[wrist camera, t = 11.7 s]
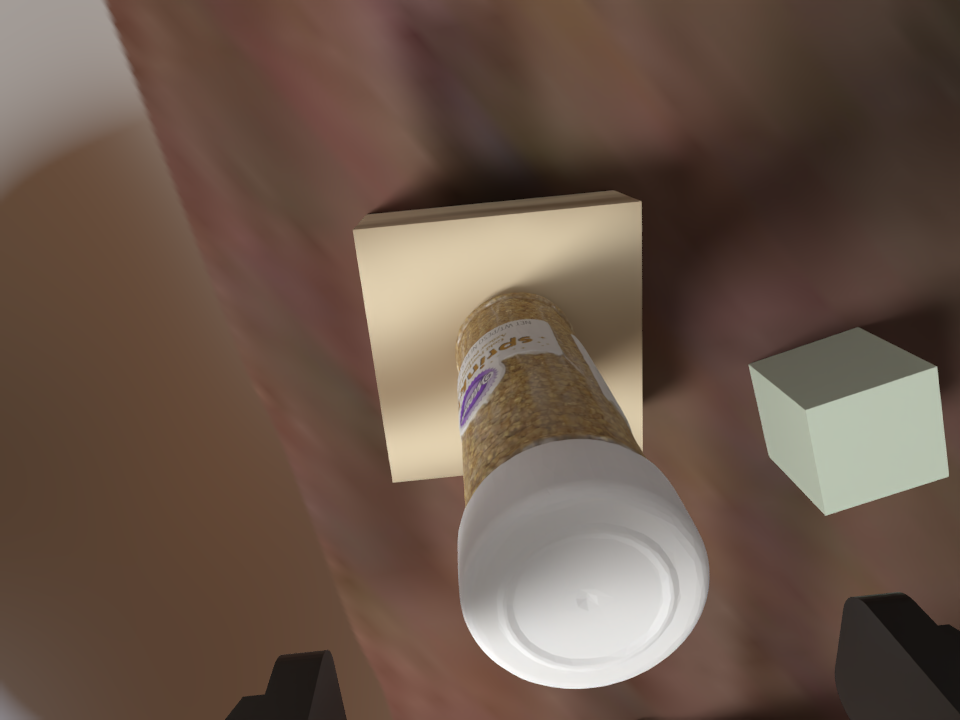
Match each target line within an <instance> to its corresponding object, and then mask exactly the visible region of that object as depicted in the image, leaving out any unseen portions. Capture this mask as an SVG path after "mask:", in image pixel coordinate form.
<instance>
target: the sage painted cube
mask: <svg viewBox="0 0 960 720" xmlns="http://www.w3.org/2000/svg"><path fill="white" fill-rule="evenodd" d="M749 369H750V373H751V378H752V382H753V387H754V391H755V396H756V400H757V405H758V409H759V414H760V418H761V423H762V427H763V432H764V436H765V441H766V445H767V450H768V454H769V457H770V458H771V459H772V460H773V461H774V462H775V463H776V464H777V465H778V466H779V467H780V468H781V469H782V471H783V472H784V473H785V474H786V475H787V476H788V477H789V478H790V479H791V480H792V481H793V482H794V483H795V484H796V485H797V486H798V487H799V488H800V489H801V490H802V491H803V492H804V493H805V495H806V496H807V497H808V498H809V499H810V500H811V501H812V502H813V503H814V504H815V505H816V506H817V507H818V508H819V509H820V510H821V511H822V512H823V513H824V514H825V515H829V514H832V513H835V512H838V511H842V510H845V509H848V508H851V507H854V506H857V505H860V504H864V503H867V502H870V501H873V500H876V499H879V498H883V497H886V496H889V495H892V494H895V493H898V492H901V491H905V490H908V489H911V488H914V487H917V486H920V485H924V484H927V483H930V482H933V481H936V480H939V479H942V478H946V477H949V472H948V463H947V454H946V444H945V435H944V426H943V416H942V407H941V398H940V388H939V379H938V370H937V366H935V365H933V364H931V363H929V362H927V361H925V360H923V359H921V358H919V357H917V356H915V355H913V354H911V353H909V352H907V351H905V350H903V349H901V348H899V347H897V346H895V345H893V344H891V343H889V342H887V341H885V340H883V339H881V338H879V337H877V336H875V335H873V334H871V333H869V332H867V331H865V330H863V329H861V328H859V327H857V328H854V329H851V330H848V331H845V332H842V333H839V334H836V335H833V336H830V337H827V338H824V339H821V340H818V341H816V342H813V343H810V344H807V345H804V346H801V347H798V348H795V349H792V350H789V351H786V352H783V353H780V354H777V355H774V356H771V357H768V358H765V359H762V360H759V361H757V362H754V363H751V364H749Z"/></svg>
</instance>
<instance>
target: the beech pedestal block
mask: <svg viewBox="0 0 960 720" xmlns="http://www.w3.org/2000/svg"><path fill="white" fill-rule="evenodd" d="M353 234H354V241H355V247H356V253H357V260H358V266H359V272H360V278H361V285H362V291H363V297H364V304H365V310H366V316H367V323H368V329H369V335H370V341H371V348H372V354H373V360H374V367H375V373H376V379H377V386H378V392H379V398H380V405H381V411H382V417H383V423H384V430H385V436H386V442H387V449H388V455H389V461H390V468H391V474H392V480H393V482H403V481H412V480H422V479H432V478H442V477H451V476H461V475H464V474H463V460H462V442H461V437H460V431H459V415H458V391H457V385H458V376H459V373H458V370H457V366H456V359H455V346H456V340H457V336H458V333H459V329H460V327H461V325H462V324H463V323H464V321H465V319H466V318H467V317H468V316H469V315H470V314H471V313H472V312H473V310H474V309H477V308H478V307H479V306H480V305H481V304H482V303H484V302H485V301H487V300H489V299H491V298H493V297H496V296H499V295H502V294H508V293H520V292H523V293H531V294H535V295H539V296H542V297H544V298H546V299H548V300H549V301H551V302H552V303H553V304H555V305H556V306H557V307H558V308H559V309H561V310H562V311H563V312H564V314H565V315H566V317H567V319H568V320H569V322H570V323H571V325H572V327H573V329H574V332H575V335H576V338H577V339H578V340H579V341H580V342H581V344H582V345H583V346H584V348H585V349H586V351H587V353H588V354H589V356H590V358H591V359H592V361H593V363H594V364H595V366H596V368H597V369H598V371H599V372H600V374H601V376H602V377H603V379H604V381H605V382H606V384H607V386H608V387H609V389H610V391H611V392H612V394H613V396H614V397H615V399H616V401H617V403H618V404H619V406H620V408H621V409H622V411H623V413H624V415H625V417H626V418H627V420H628V423H629V425H630V428H631V430H632V434H633V436H634V438H635V440H636V442H637V444H638V445H639V447H640V448H641V450H642V452H643V436H642V201H640V200H637V199H635V198H632V197H630V196H627V195H625V194H622V193H620V192H617V191H615V190H611V191H601V192H590V193H580V194H570V195H560V196H550V197H540V198H529V199H519V200H509V201H499V202H489V203H479V204H469V205H458V206H448V207H438V208H428V209H418V210H408V211H398V212H387V213H377V214H367V215H366V216H365V217H364V218H363V219H362V220H361V221H360V223H359V224H358V225H357V226H356V227H355V228H354V229H353Z"/></svg>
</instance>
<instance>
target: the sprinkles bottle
mask: <svg viewBox="0 0 960 720" xmlns="http://www.w3.org/2000/svg"><path fill="white" fill-rule="evenodd" d="M455 359H456V366H457V370H458V373H459V376H458V385H457V391H458V415H459V431H460V437H461V442H462V460H463V474H464V478H463V479H464V493H465V494H464V497H465V510H464V513H463V517H462V520H461V524H460V528H459V533H458V578H459V592H460V602H461V607H462V612H463V616H464V619H465V622H466V624H467V626H468V628H469V630H470V632H471V634H472V636H473V638H474V639H475V641H476V642H477V643H478V645H479V646H480V647H481V649H482V650H483V651H484V652H485V653H486V654H487V655H488V656H489V657H490V658H491V659H492V660H493V661H494V662H496V663H497V664H498V665H500V666H501V667H503V668H504V669H506V670H507V671H509V672H511V673H512V674H514V675H516V676H518V677H520V678H522V679H525V680H527V681H530V682H533V683H537V684H541V685H546V686H551V687H557V688H571V689H582V688H593V687H601V686H607V685H610V684H614V683H618V682H621V681H624V680H627V679H630V678H632V677H635V676H637V675H639V674H641V673H643V672H645V671H647V670H649V669H650V668H652V667H653V666H655V665H656V664H658V663H660V662H661V661H662V660H664V659H665V658H667V657H668V656H669V655H670V654H671V653H673V652H674V651H675V650H676V649H677V648H678V647H679V646H680V645H681V644H682V643H683V642H684V640H685V639H686V638H687V637H688V635H689V634H690V633H691V632H692V630H693V628H694V626H695V625H696V623H697V621H698V619H699V617H700V616H701V614H702V611H703V608H704V605H705V603H706V599H707V594H708V590H709V563H708V557H707V552H706V549H705V546H704V543H703V540H702V538H701V536H700V534H699V532H698V530H697V528H696V526H695V524H694V523H693V521H692V519H691V517H690V515H689V513H688V512H687V510H686V508H685V506H684V505H683V503H682V501H681V500H680V498H679V496H678V494H677V493H676V491H675V489H674V488H673V486H672V485H671V483H670V482H669V480H668V479H667V478H666V477H665V475H664V474H663V473H662V472H661V471H660V470H659V469H658V468H657V467H656V466H655V465H654V464H653V463H652V462H650V461H649V460H647V459H646V457H645V456H644V454H643V452H642V450H641V448H640V447H639V445H638V444H637V442H636V440H635V438H634V436H633V434H632V430H631V428H630V425H629V423H628V420H627V418H626V417H625V415H624V413H623V411H622V409H621V408H620V406H619V404H618V403H617V401H616V399H615V397H614V396H613V394H612V392H611V391H610V389H609V387H608V386H607V384H606V382H605V381H604V379H603V377H602V376H601V374H600V372H599V371H598V369H597V368H596V366H595V364H594V363H593V361H592V359H591V358H590V356H589V354H588V353H587V351H586V349H585V348H584V346H583V345H582V344H581V342H580V341H579V340H578V339H577V338H576V335H575V332H574V329H573V327H572V325H571V323H570V322H569V320H568V319H567V317H566V315H565V314H564V312H563V311H562V310H561V309H559V308H558V307H557V306H556V305H555V304H553V303H552V302H551V301H549V300H548V299H546V298H544V297H542V296H539V295H535V294H531V293H523V292H520V293H508V294H502V295H499V296H496V297H493V298H491V299H489V300H487V301H485V302H484V303H482V304H481V305H480V306H479V307H478V308H477V309H474V310H473V312H472V313H471V314H470V315H469V316H468V317H467V318H466V319H465V321H464V323H463V324H462V325H461V327H460V329H459V333H458V336H457V340H456V346H455Z"/></svg>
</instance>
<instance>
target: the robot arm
mask: <svg viewBox="0 0 960 720" xmlns="http://www.w3.org/2000/svg"><path fill="white" fill-rule="evenodd" d="M835 681H836V687H837V691H838V694H839V697H840V700H841V703H842V705H843V707H844V709H845V711H846V713H847V715H848V716H849V718H850V720H960V631H959V630H957V629H955V628H954V627H952V626H951V625H949V624H948V625H939V626H938V625H937V624H936V623H935V622H934V621H933V620H932V619H931V618H930V617H929V616H928V615H927V614H926V613H925V612H924V611H923V610H922V609H921V608H920V607H919V606H918V605H917V603H916V602H915V601H914V600H912V599H911V598H910V597H909V596H907V595H906V594H904V593H900V592H895V593H886V594H876V595H866V596H857V597H850V598H848V599H847V600H846V602H845V604H844V608H843V615H842V623H841V630H840V637H839V644H838V651H837V658H836V665H835ZM225 720H347V719H346V715H345V710H344V706H343V702H342V697H341V692H340V688H339V683H338V679H337V674H336V670H335V665H334V661H333V657H332V654H331V652H330V651H328V650H324V651H315V652H305V653H296V654H286V655H280V656H279V657H278V659H277V660H276V662H275V665H274V668H273V671H272V674H271V677H270V680H269V683H268V687H267V690H266V693H265V695H256V696H247V697H242V699H241V700H240V701H239V703H238V704H237V705H236V706H235V708H234V709H233V710H232V711H231V713H230V714H229V715H228V717H227V718H226V719H225Z"/></svg>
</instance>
